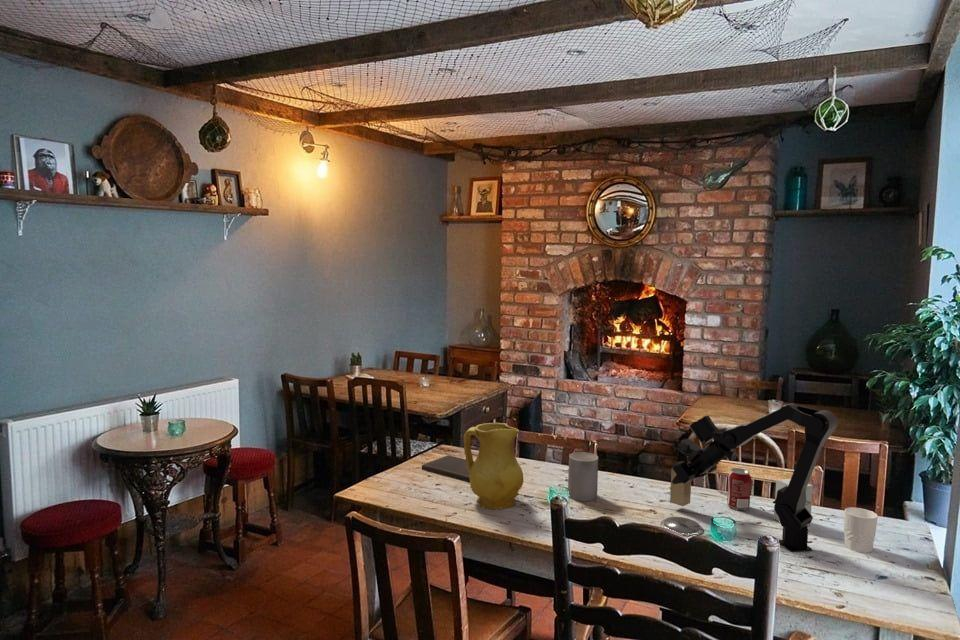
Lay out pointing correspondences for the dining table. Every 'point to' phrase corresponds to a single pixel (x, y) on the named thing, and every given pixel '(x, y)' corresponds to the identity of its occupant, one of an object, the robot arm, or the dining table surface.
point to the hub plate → (682, 525)
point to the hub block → (680, 492)
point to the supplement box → (809, 490)
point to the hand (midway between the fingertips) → (677, 481)
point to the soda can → (739, 489)
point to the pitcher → (494, 465)
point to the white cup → (860, 529)
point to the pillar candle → (583, 476)
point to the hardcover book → (449, 467)
